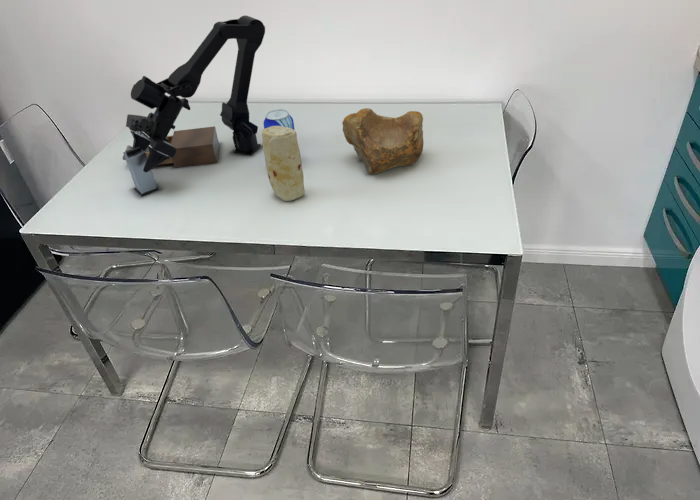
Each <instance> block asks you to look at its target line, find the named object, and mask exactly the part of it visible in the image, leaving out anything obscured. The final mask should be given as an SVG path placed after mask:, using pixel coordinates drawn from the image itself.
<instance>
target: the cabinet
mask: <svg viewBox="0 0 700 500" xmlns="http://www.w3.org/2000/svg"><path fill="white" fill-rule="evenodd" d="M172 136H173V137H172V141H171V144H172V145H173V146H174V147H175V148H176V151H177V153H176V154H175V156H174V158H172V161H173V163H172V164H173V167H174V168H175V169H176V168H184V167H193V166H199V165H200V166H201V165H207V164H217V163H218V157H219V148H220V141H219V137H218V132H217V128H216V126H207V127H205V126H204V127H198V128H188V129H181V130H173V134H172Z"/></svg>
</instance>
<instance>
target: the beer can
mask: <svg viewBox="0 0 700 500" xmlns="http://www.w3.org/2000/svg"><path fill="white" fill-rule="evenodd" d="M262 125H263V129H265V128H268V127H271V126H283V127H288V128H292V129H294V130H295V131H296V129H295V122H294V119H293V116H291V115H290V112H289V111H288V110H287V109H285V108H284V109H283V108H277V109H272V110H271V109H270V110H269V111H267V112H266V113H265V117H264V120H263V124H262Z"/></svg>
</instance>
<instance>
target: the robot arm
mask: <svg viewBox="0 0 700 500" xmlns="http://www.w3.org/2000/svg"><path fill="white" fill-rule="evenodd" d="M265 34H266V26H265V25H264V23H263V22H262V21H261V20H260V19H257V18H255V17H252V16H249V15H242V16H240V17H239V18H236V19H235V18H234V19H227V20H224V21H217V22H215V23H213V26H212V29H211V30H210V32H208V34H207V35H206V37H204V39H203V40H202V42H201V43H200V45H199V46H198V47H197V49H196V50H195V51H194V52H193V54H192V55H191V56H190V58H189V59H188V60H187V61H186V62H185V63H183V64H181V65H180V66H178V67H177V68H176V69H175V70H173V71H172V73H170V75H169V76H168V77H166V78H165V79H163V80H161V81H158V82H155V81H153V80H152V79H151V78H149V77H147V76H145V75H143V76H142V77H141V79H139V80H138V81H137V82H136V83H134V84H133V85H132V88H131V91H130V98H131V100H133V101H135V102H137V103H138V104H141V105H143V106H145V107H147V108H149V109H151V110H154V109H155V110H154V112H152V111H150V112H149V113H148V115H147V116H144V115H138V114H127V115H126V122H125V127H126V128H128V129H129V130H130V131H129V132H130V134H131V135H132V138H133V141H132V142H133V143H132V147H133V148H132V149H134V148H136V147H139V146H140V147H141V149H142V150H143V151H144V150H145V149H146V148H147V147H148V149H149V152H150V153H149V156H148V159H147V161H146V163H145V166H144V169H143V171H144V172H146V173H147V172H148V171H150V170H151V171H152V170H153V169H154V168H156V167H157V166H159V165H158V164H160V163H162V162H163V161H165V160H167V159H170V158H171V157H172V158H174V156H175V154H176V153H177V151H176V148H175V147H174V146H173V145H172V144H170V143H168V140H169V139H167V138H166V137H167V136H169V134H170V132H171V130H175V129H176V125H175V122H176V120H177V118H178V117H179V115H180V113H181V111H182V109H185V110H188V111H190V110H191V105H190V104H189V98H193V96H194V95H195V94H196V92H197V90H198V88H199V86H200V84H201V82H202V81H201V80H202V75H204V72H205V71H206V69H207V68H208V67H209V65H210V64H211V63H212V62H213V60H214V59H215V57H216V56H217V55H218V53H219V52H220V51H221V49H222V48H223V47H224V45H225V44H226V43H227V42H228V40H233V39H235V40H236V43H237V44H236V45H237V55H236V61H235V67H234V72H233V73H234V74H233V80H232V87H231V92H230V93H231V94H230V98H229V100H228V101H227V102H224V101H223V102H222V103H221V112H220V114H219V116H220V117H221V122H222V124H223V125H224V126H226V127H228V128H229V129H230V130H231V131H232V141H233V145H234V149H233V153H234V154H240V155H246V156H252V155H253V154H254V153H255V152H257V150H259V149H260V148H261V147H262V144H260V143H258V137H257V134H258V129H259V126H258V125H256V124H255V123H253V122H252V121H250V111H249V106H248V98H249V91H250V86H251V80H252V74H253V67H254V62H255V57H256V52H257V51H258V50H259V48H260V47H261V45H262V43H263V41H264V37H265ZM180 97H181V98H180ZM169 156H170V157H169Z"/></svg>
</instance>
